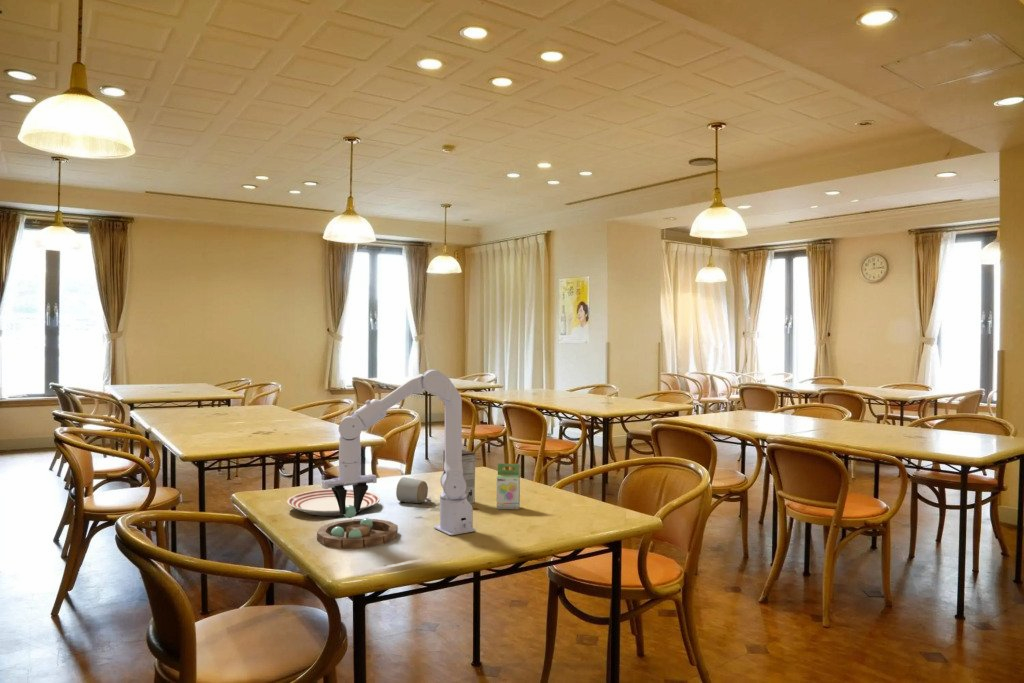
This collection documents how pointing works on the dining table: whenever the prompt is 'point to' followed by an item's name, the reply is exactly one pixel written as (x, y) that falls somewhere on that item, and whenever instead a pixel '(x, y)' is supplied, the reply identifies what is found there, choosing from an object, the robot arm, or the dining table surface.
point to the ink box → (508, 487)
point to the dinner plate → (327, 502)
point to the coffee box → (468, 474)
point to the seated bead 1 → (337, 532)
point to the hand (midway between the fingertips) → (349, 512)
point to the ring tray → (373, 540)
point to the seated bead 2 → (355, 534)
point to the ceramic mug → (411, 490)
